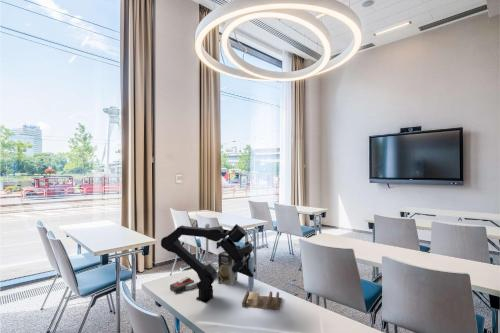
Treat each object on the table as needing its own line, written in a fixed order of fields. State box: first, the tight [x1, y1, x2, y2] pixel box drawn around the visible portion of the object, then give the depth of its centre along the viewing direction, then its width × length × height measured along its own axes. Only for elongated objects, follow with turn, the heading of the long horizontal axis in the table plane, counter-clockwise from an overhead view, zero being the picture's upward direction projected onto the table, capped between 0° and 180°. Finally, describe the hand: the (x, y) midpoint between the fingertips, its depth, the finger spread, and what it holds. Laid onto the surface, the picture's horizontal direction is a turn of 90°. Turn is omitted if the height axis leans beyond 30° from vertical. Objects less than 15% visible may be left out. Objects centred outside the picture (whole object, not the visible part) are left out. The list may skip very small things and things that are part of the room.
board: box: [247, 255, 255, 292], centre depth 128 cm, size 2×6×14 cm, turn 170°
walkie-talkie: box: [169, 276, 200, 293], centre depth 146 cm, size 9×4×20 cm
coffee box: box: [217, 251, 238, 286], centre depth 149 cm, size 9×6×16 cm
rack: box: [241, 290, 283, 312], centre depth 127 cm, size 17×12×3 cm
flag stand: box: [200, 223, 218, 272], centre depth 162 cm, size 13×13×30 cm
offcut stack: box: [246, 291, 260, 306], centre depth 128 cm, size 5×8×2 cm, turn 170°
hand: (254, 274), depth 128 cm, fingers closed on board, 6 cm apart
